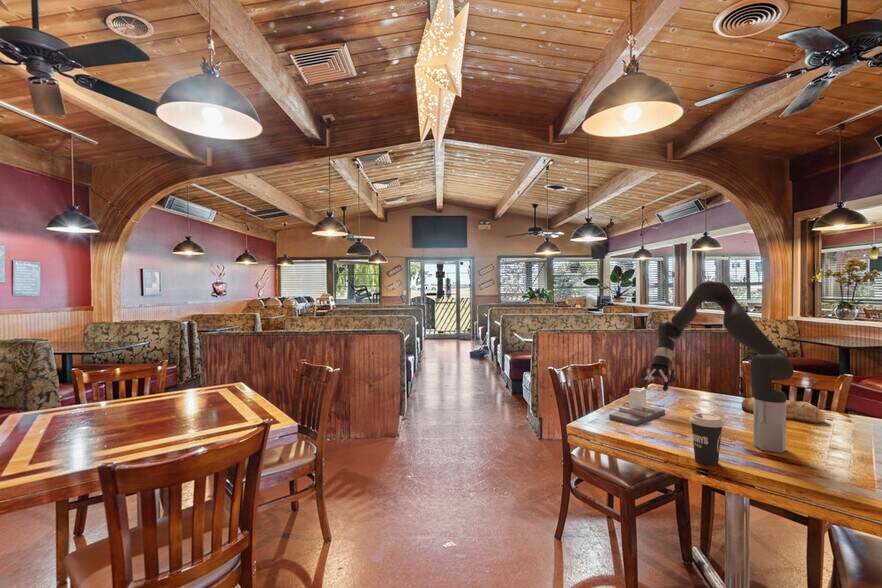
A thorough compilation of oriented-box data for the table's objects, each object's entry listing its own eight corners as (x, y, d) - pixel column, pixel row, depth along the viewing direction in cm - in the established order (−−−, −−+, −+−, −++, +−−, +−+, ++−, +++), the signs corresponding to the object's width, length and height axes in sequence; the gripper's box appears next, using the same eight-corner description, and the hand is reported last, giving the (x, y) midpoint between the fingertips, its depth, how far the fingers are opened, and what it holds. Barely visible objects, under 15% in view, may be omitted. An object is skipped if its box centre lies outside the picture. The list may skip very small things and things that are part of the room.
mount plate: (664, 413, 192) (664, 405, 192) (636, 425, 176) (635, 417, 176) (638, 408, 202) (638, 400, 202) (609, 418, 186) (609, 410, 186)
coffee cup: (694, 453, 146) (694, 410, 146) (727, 461, 139) (727, 416, 139) (685, 461, 139) (685, 416, 139) (719, 470, 133) (719, 422, 132)
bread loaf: (732, 416, 192) (733, 395, 192) (734, 405, 206) (735, 386, 206) (836, 434, 171) (838, 411, 171) (831, 421, 185) (832, 400, 184)
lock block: (646, 411, 188) (646, 389, 188) (640, 414, 185) (640, 391, 185) (635, 409, 192) (635, 387, 192) (629, 411, 189) (629, 388, 189)
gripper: (644, 353, 205) (636, 383, 198) (675, 355, 194) (667, 387, 187) (650, 361, 208) (642, 391, 202) (681, 364, 197) (674, 395, 191)
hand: (654, 389), depth 195 cm, fingers open, 8 cm apart
